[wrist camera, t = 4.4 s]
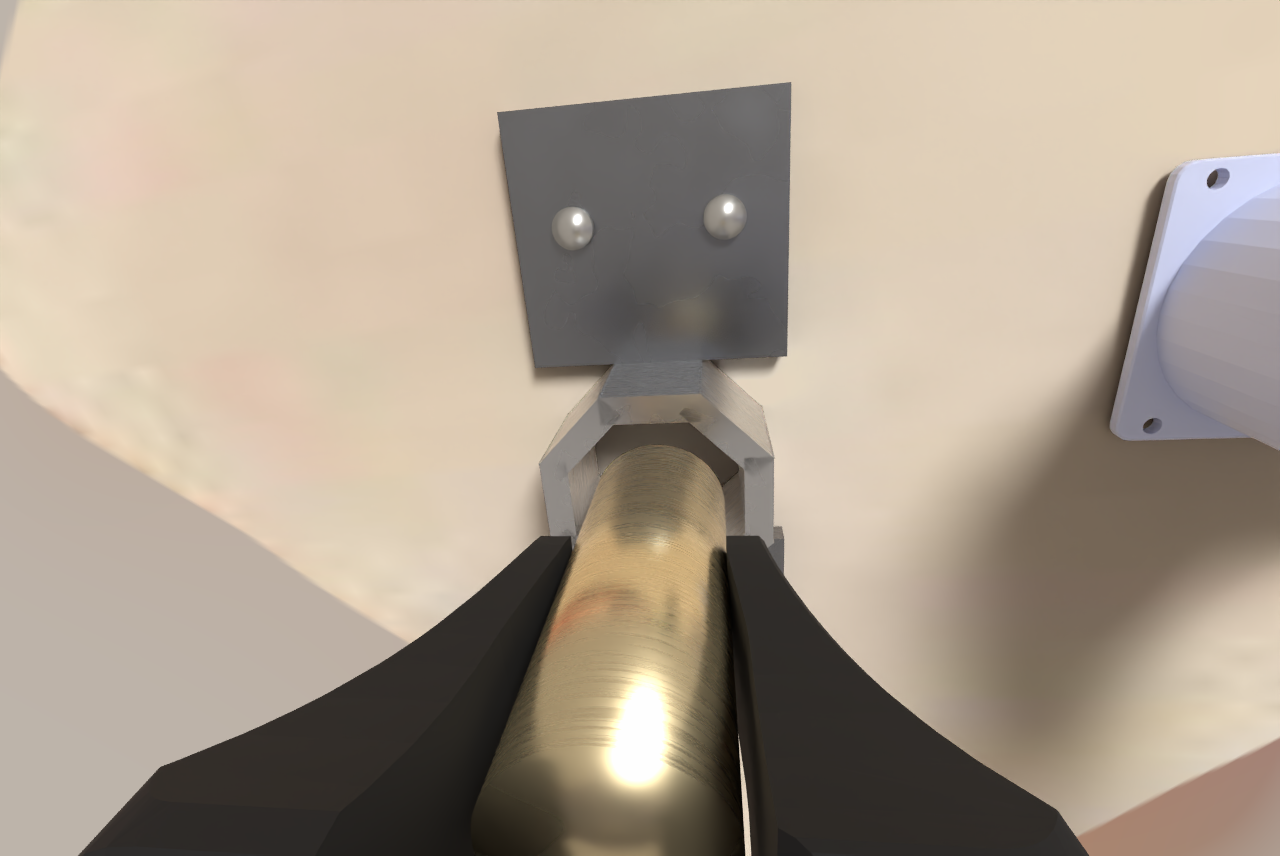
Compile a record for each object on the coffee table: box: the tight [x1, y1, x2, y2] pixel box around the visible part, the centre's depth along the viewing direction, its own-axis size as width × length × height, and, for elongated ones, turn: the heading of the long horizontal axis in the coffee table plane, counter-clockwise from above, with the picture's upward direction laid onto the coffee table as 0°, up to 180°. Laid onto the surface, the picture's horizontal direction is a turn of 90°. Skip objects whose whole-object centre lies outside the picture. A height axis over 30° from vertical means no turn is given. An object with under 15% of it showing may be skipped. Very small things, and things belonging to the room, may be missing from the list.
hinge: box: [497, 82, 791, 575], centre depth 19 cm, size 21×8×4 cm, turn 4°
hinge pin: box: [470, 445, 745, 856], centre depth 10 cm, size 3×3×8 cm
